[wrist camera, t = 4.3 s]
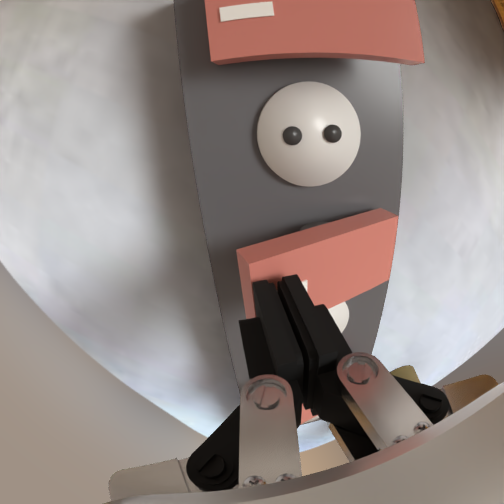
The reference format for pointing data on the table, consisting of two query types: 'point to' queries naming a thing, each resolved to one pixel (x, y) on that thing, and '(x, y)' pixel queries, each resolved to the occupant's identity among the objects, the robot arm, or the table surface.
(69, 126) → the table surface
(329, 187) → the power strip
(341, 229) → the outlet rocker
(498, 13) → the pancake mix bag
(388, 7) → the outlet rocker
